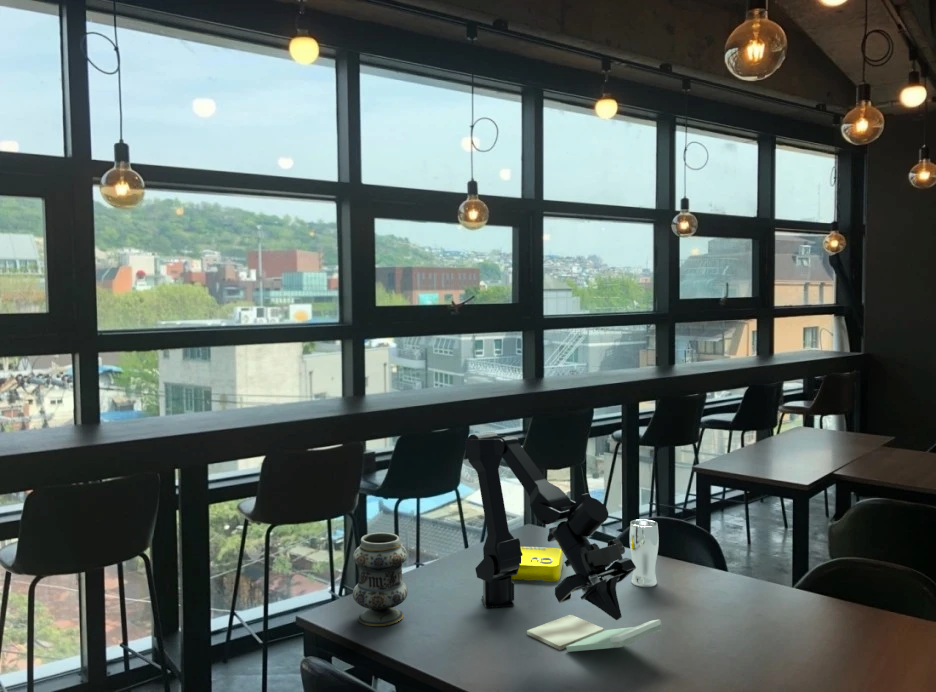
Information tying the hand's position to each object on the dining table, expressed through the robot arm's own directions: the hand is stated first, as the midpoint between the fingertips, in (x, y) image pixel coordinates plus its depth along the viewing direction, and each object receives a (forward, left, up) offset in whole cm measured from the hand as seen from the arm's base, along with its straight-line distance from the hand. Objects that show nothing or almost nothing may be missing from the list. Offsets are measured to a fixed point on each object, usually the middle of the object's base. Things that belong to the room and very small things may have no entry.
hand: (619, 618), depth 144 cm
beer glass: (+20, +37, -8) cm, 43 cm away
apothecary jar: (-45, +27, -8) cm, 53 cm away
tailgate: (-4, +7, -8) cm, 11 cm away
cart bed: (-7, +13, -8) cm, 16 cm away
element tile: (-5, +51, -8) cm, 52 cm away
